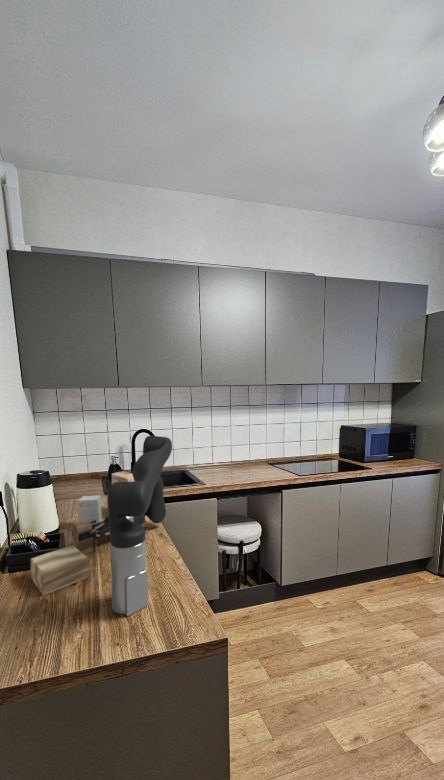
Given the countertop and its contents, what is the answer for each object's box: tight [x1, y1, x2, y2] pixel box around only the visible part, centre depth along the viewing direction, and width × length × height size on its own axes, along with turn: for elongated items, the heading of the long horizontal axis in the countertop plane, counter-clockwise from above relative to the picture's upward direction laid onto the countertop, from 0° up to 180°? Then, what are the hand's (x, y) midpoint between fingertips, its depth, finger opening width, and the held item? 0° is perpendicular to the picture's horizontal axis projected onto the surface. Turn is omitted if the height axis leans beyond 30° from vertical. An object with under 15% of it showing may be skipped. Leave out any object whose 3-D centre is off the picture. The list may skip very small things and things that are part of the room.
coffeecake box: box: [111, 470, 135, 485], centre depth 156 cm, size 15×7×20 cm, turn 46°
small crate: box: [72, 521, 94, 555], centre depth 120 cm, size 5×5×10 cm
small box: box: [77, 495, 103, 523], centre depth 142 cm, size 8×6×13 cm
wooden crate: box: [30, 544, 91, 596], centre depth 103 cm, size 14×14×6 cm
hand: (75, 536), depth 118 cm, fingers closed on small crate, 5 cm apart
